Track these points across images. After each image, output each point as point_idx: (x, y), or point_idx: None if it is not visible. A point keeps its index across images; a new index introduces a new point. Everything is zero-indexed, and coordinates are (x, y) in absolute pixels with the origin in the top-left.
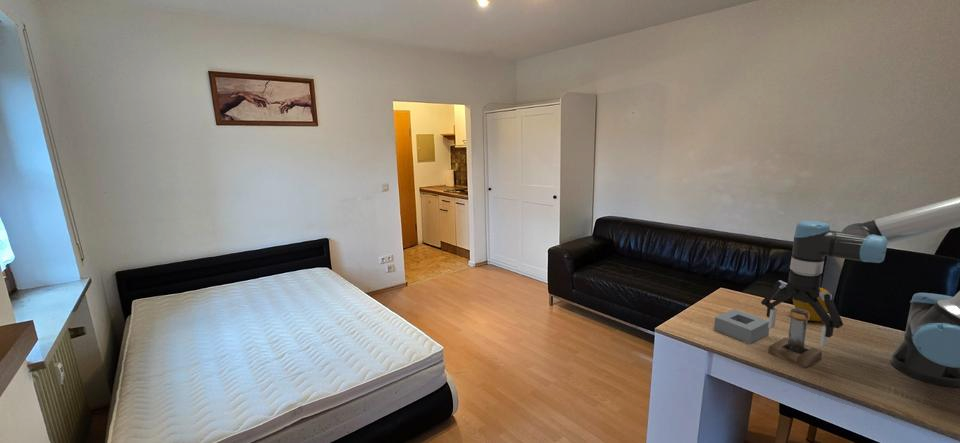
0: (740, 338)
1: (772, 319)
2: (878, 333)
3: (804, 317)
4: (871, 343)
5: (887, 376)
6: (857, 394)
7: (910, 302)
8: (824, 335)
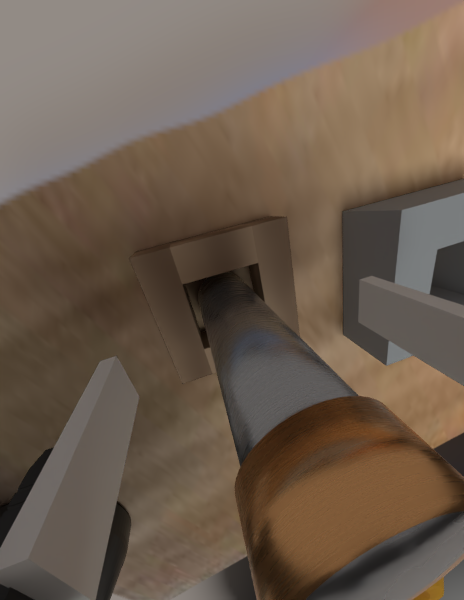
0: (382, 202)
1: (417, 310)
2: (229, 543)
3: (263, 525)
4: (202, 514)
5: (38, 449)
6: None
7: None
8: (58, 442)
